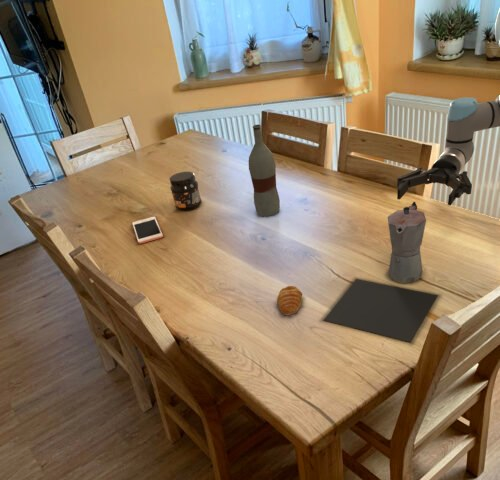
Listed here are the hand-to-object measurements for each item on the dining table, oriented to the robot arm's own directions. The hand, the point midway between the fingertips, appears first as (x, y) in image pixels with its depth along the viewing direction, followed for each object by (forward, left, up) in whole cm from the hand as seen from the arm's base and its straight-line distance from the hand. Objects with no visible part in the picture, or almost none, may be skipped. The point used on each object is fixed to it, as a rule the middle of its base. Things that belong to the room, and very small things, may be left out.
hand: (423, 197), depth 132 cm
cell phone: (+94, +16, -16) cm, 97 cm away
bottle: (+58, -10, -17) cm, 61 cm away
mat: (0, +30, -16) cm, 34 cm away
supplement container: (+92, -6, -17) cm, 94 cm away
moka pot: (0, +13, -17) cm, 21 cm away
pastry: (+22, +37, -17) cm, 46 cm away
